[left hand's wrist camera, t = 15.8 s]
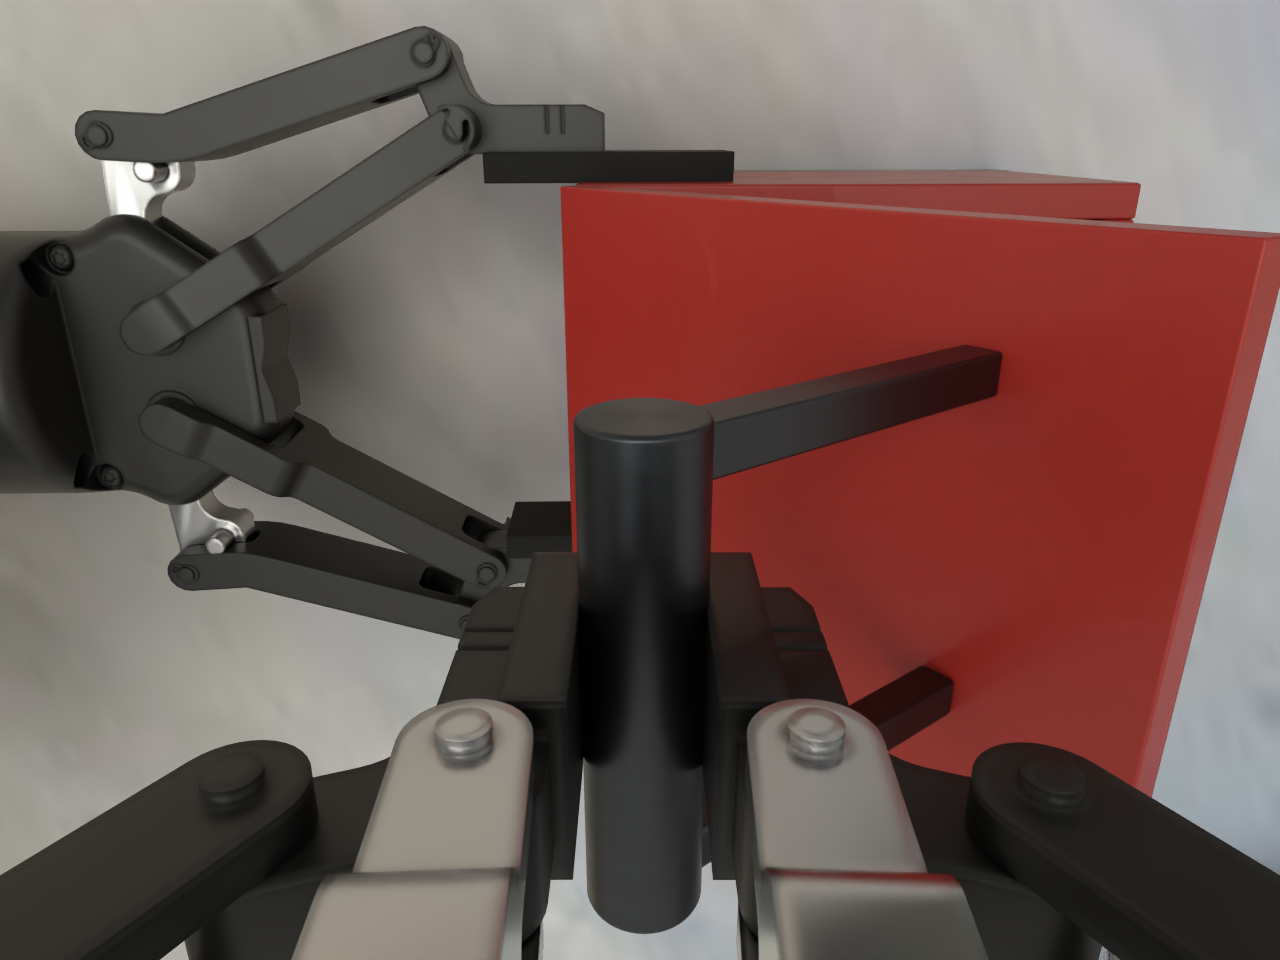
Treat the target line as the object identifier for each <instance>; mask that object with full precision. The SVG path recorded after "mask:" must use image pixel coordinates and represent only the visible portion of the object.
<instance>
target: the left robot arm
mask: <svg viewBox="0 0 1280 960" xmlns="http://www.w3.org/2000/svg"><path fill="white" fill-rule="evenodd" d="M583 758H584V753H583V718H582V683H581V647H580V612H579V597H578V564H577V552H534V553H533V556H532V560H531V564H530V568H529V571H528V575H527V579H526V583H525V587H494V588H493V589H492V590H490V591H489V592H488V593H487V594H486V595H484V596H483V597H482V598H481V599H480V600H479V601H477V602H476V603H475V604H474V605H473V606H472V608H471V611H470V614H469V616H468V619H467V622H466V625H465V628H464V632H463V633H462V636H461V639H460V642H459V644H458V650H456V653H455V656H454V658H453V661H452V664H451V667H450V670H449V672H448V675H447V678H446V681H445V684H444V687H443V689H442V692H441V695H440V698H439V701H438V703H437V706H435V707H432V708H430V709H428V710H426V711H424V712H422V713H420V714H419V715H417V716H416V717H414V718H413V719H412V720H410V721H409V722H408V723H407V724H406V725H405V726H404V727H403V729H402V730H401V731H400V733H399V735H398V737H397V739H396V741H395V744H394V747H393V750H392V753H391V756H390V757H389V758H387V759H384V760H382V761H379V762H376V763H374V764H371V765H367V766H363V767H359V768H355V769H350V770H346V771H341V772H337V773H332V774H327V775H323V776H318V777H313V776H312V770H311V764H310V761H309V759H308V757H307V756H306V755H305V754H304V753H303V752H302V751H301V750H300V749H298V748H296V747H295V746H292V745H290V744H287V743H283V742H278V741H270V740H255V741H246V742H239V743H234V744H230V745H226V746H223V747H220V748H217V749H214V750H211V751H209V752H207V753H204V754H202V755H200V756H198V757H196V758H194V759H192V760H191V761H189V762H187V763H185V764H184V765H182V766H180V767H179V768H177V769H175V770H174V771H172V772H170V773H169V774H167V775H166V776H164V777H162V778H161V779H159V780H157V781H156V782H154V783H152V784H151V785H149V786H147V787H146V788H144V789H142V790H141V791H139V792H137V793H136V794H134V795H132V796H131V797H129V798H128V799H126V800H124V801H123V802H121V803H119V804H118V805H116V806H114V807H113V808H111V809H109V810H108V811H106V812H104V813H103V814H101V815H99V816H98V817H96V818H94V819H93V820H91V821H89V822H88V823H86V824H85V825H83V826H81V827H80V828H78V829H76V830H75V831H73V832H71V833H70V834H68V835H66V836H65V837H63V838H61V839H60V840H58V841H56V842H55V843H53V844H51V845H50V846H48V847H47V848H45V849H43V850H42V851H40V852H38V853H37V854H35V855H33V856H32V857H30V858H28V859H27V860H25V861H23V862H22V863H20V864H18V865H17V866H15V867H13V868H12V869H10V870H9V871H7V872H5V873H4V874H2V875H0V960H160V959H161V958H163V957H164V956H165V955H166V954H168V953H169V952H170V951H172V950H173V949H174V948H175V947H177V946H178V945H179V944H181V943H182V942H183V941H185V945H186V949H187V953H188V957H189V960H542V958H543V942H544V939H543V917H544V915H545V913H546V909H547V904H548V897H549V888H550V880H573V870H574V859H575V848H576V837H577V825H578V814H579V803H580V792H581V781H582V769H583ZM702 770H703V780H704V790H705V801H706V811H707V821H708V832H709V842H710V852H711V863H712V873H713V880H736V886H737V894H738V920H737V957H738V960H1098V959H1099V955H1100V951H1101V947H1102V946H1103V947H1105V948H1106V949H1107V950H1108V951H1110V960H1280V875H1278V874H1276V873H1275V872H1273V871H1272V870H1270V869H1268V868H1267V867H1265V866H1263V865H1262V864H1260V863H1258V862H1257V861H1255V860H1253V859H1252V858H1250V857H1248V856H1247V855H1245V854H1243V853H1242V852H1240V851H1238V850H1237V849H1235V848H1233V847H1232V846H1230V845H1229V844H1227V843H1225V842H1224V841H1222V840H1220V839H1219V838H1217V837H1215V836H1214V835H1212V834H1210V833H1209V832H1207V831H1205V830H1204V829H1202V828H1200V827H1199V826H1197V825H1195V824H1194V823H1192V822H1191V821H1189V820H1187V819H1186V818H1184V817H1182V816H1181V815H1179V814H1177V813H1176V812H1174V811H1172V810H1171V809H1169V808H1167V807H1166V806H1164V805H1162V804H1161V803H1159V802H1157V801H1156V800H1154V799H1153V798H1151V797H1149V796H1148V795H1146V794H1144V793H1143V792H1141V791H1139V790H1138V789H1136V788H1134V787H1133V786H1131V785H1129V784H1128V783H1126V782H1124V781H1123V780H1121V779H1119V778H1118V777H1116V776H1115V775H1113V774H1111V773H1110V772H1108V771H1106V770H1105V769H1103V768H1101V767H1100V766H1098V765H1096V764H1095V763H1093V762H1091V761H1089V760H1087V759H1085V758H1084V757H1081V756H1079V755H1077V754H1074V753H1072V752H1069V751H1066V750H1063V749H1060V748H1057V747H1053V746H1049V745H1044V744H1037V743H1028V742H1014V743H1005V744H1000V745H996V746H994V747H991V748H989V749H987V750H985V751H984V752H982V753H981V754H980V755H979V756H978V757H977V758H976V760H975V762H974V764H973V767H972V774H971V777H968V776H963V775H958V774H954V773H949V772H945V771H940V770H935V769H931V768H927V767H923V766H919V765H915V764H913V763H910V762H907V761H904V760H902V759H900V758H897V757H895V756H893V755H891V754H889V753H888V750H887V747H886V744H885V741H884V739H883V736H882V734H881V733H880V731H879V730H878V729H877V727H876V726H875V725H874V724H873V723H872V722H871V721H870V720H869V719H867V718H866V717H864V716H863V715H861V714H860V713H858V712H856V711H854V710H852V709H850V706H849V704H848V701H847V698H846V695H845V693H844V690H843V687H842V684H841V682H840V679H839V676H838V674H837V671H836V668H835V665H834V663H833V660H832V657H831V654H830V652H829V651H828V650H827V644H826V641H825V638H824V635H823V633H822V632H821V627H820V624H819V622H818V619H817V616H816V614H815V611H814V608H813V606H812V605H811V604H810V603H809V602H807V601H806V600H805V599H804V598H803V597H801V596H800V595H799V594H798V593H797V592H795V591H794V590H793V589H792V588H791V587H760V583H759V579H758V576H757V572H756V568H755V564H754V561H753V557H752V554H751V552H711V562H710V596H709V603H708V605H707V613H706V647H705V681H704V714H703V748H702Z"/></svg>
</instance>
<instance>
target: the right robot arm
mask: <svg viewBox="0 0 1280 960" xmlns="http://www.w3.org/2000/svg"><path fill="white" fill-rule="evenodd" d="M416 94H420V96H421V99H422V101H423V103H424V106H425V108H426V111H427V113H428V115H429V117H428V118H426V119H425V120H423V121H422V122H420V123H419V124H417V125H416V126H414V127H413V128H411V129H410V130H408V131H407V132H405V133H404V134H402V135H401V136H399V137H398V138H396V139H395V140H393V141H392V142H390V143H389V144H387V145H386V146H384V147H383V148H381V149H380V150H378V151H377V152H375V153H374V154H372V155H371V156H369V157H368V158H367V159H365V160H364V161H362V162H361V163H359V164H358V165H356V166H355V167H353V168H352V169H350V170H349V171H347V172H346V173H344V174H343V175H341V176H340V177H338V178H337V179H335V180H334V181H332V182H331V183H329V184H328V185H326V186H325V187H323V188H322V189H320V190H319V191H317V192H316V193H314V194H313V195H311V196H310V197H308V198H307V199H305V200H304V201H302V202H301V203H299V204H298V205H296V206H295V207H293V208H292V209H290V210H289V211H287V212H286V213H284V214H283V215H281V216H280V217H278V218H277V219H275V220H274V221H272V222H271V223H269V224H268V225H266V226H265V227H263V228H262V229H261V230H259V231H258V232H256V233H254V234H253V235H251V236H249V237H247V238H245V239H243V240H241V241H240V242H238V243H236V244H234V245H233V246H231V247H229V248H228V249H226V250H225V251H223V252H222V253H220V252H219V251H217V250H216V249H214V248H213V247H211V246H209V245H208V244H206V243H205V242H203V241H202V240H200V239H199V238H197V237H196V236H194V235H193V234H191V233H189V232H188V231H186V230H185V229H183V228H182V227H180V226H179V225H177V224H176V223H174V222H173V221H171V220H169V219H168V218H166V217H164V216H162V204H163V201H164V200H165V199H166V197H167V196H168V195H170V194H171V193H174V192H178V191H182V190H185V189H187V188H188V187H190V185H191V184H192V183H193V181H194V178H195V164H194V161H207V160H215V159H222V158H227V157H230V156H234V155H238V154H241V153H244V152H247V151H250V150H253V149H256V148H259V147H262V146H265V145H268V144H271V143H274V142H277V141H280V140H283V139H286V138H289V137H291V136H294V135H297V134H300V133H303V132H306V131H309V130H312V129H315V128H318V127H321V126H324V125H327V124H330V123H333V122H336V121H339V120H342V119H345V118H348V117H351V116H354V115H357V114H360V113H363V112H366V111H369V110H371V109H374V108H377V107H380V106H383V105H386V104H389V103H392V102H395V101H398V100H401V99H404V98H407V97H410V96H413V95H416ZM75 136H76V138H77V141H78V144H79V145H80V147H81V148H82V149H83V150H84V152H85V153H87V154H88V155H90V156H91V157H93V158H95V159H99V160H101V164H102V171H103V177H104V184H105V191H106V197H107V204H108V210H109V217H107V218H105V219H103V220H101V221H100V222H99V223H97V224H96V225H94V226H93V227H91V228H89V229H87V230H84V231H0V493H85V492H101V491H113V490H127V491H132V492H137V493H140V494H143V495H145V496H148V497H150V498H152V499H154V500H157V501H159V502H161V503H165V504H168V505H169V509H170V512H171V516H172V520H173V524H174V527H175V531H176V535H177V538H178V542H179V546H180V551H181V552H180V553H179V554H178V555H177V556H176V557H175V558H174V559H173V560H172V561H171V562H170V564H169V566H168V575H169V577H170V579H171V581H172V582H173V583H174V584H175V585H176V586H177V587H179V588H182V589H184V590H190V591H196V590H212V589H228V588H244V587H247V588H251V589H255V590H260V591H264V592H268V593H272V594H276V595H280V596H284V597H288V598H293V599H297V600H301V601H305V602H309V603H313V604H317V605H321V606H325V607H330V608H334V609H338V610H342V611H346V612H350V613H354V614H358V615H363V616H367V617H371V618H375V619H379V620H383V621H387V622H391V623H396V624H400V625H404V626H408V627H412V628H416V629H420V630H424V631H429V632H433V633H437V634H441V635H445V636H449V637H453V638H457V639H461V636H462V633H463V632H464V628H465V625H466V622H467V619H468V616H469V614H470V611H471V608H472V606H473V605H474V604H475V603H476V602H477V601H479V600H480V599H481V598H482V597H483V596H484V595H486V594H487V593H488V592H489V591H490V590H492V589H493V588H494V587H508V586H510V585H513V584H515V583H526V579H527V575H528V571H529V568H530V564H531V560H532V556H533V553H534V552H572V524H571V501H557V502H516V503H515V506H514V510H513V513H512V517H511V519H510V518H509V517H507V519H506V522H505V523H504V524H501V523H499V522H497V521H495V520H493V519H491V518H489V517H487V516H485V515H483V514H481V513H479V512H478V511H476V510H474V509H472V508H470V507H468V506H466V505H464V504H462V503H460V502H458V501H456V500H454V499H452V498H450V497H448V496H446V495H444V494H442V493H440V492H438V491H436V490H434V489H432V488H430V487H428V486H427V485H425V484H423V483H421V482H419V481H417V480H415V479H413V478H411V477H409V476H407V475H405V474H403V473H401V472H399V471H397V470H395V469H393V468H391V467H389V466H387V465H385V464H383V463H381V462H379V461H377V460H376V459H374V458H372V457H370V456H368V455H366V454H364V453H362V452H360V451H358V450H356V449H354V448H352V447H350V446H348V445H346V444H344V443H342V442H340V441H338V440H336V439H335V438H333V437H332V436H331V434H330V432H329V430H328V429H327V428H325V427H324V426H323V425H321V424H319V423H317V422H315V421H313V420H311V419H309V418H307V417H305V416H304V415H302V414H300V413H298V412H296V411H294V410H295V408H296V407H298V406H299V405H300V404H301V402H300V395H299V388H298V381H297V378H296V376H295V373H294V371H293V369H292V366H291V364H290V362H289V359H288V357H287V349H288V341H289V333H290V326H289V319H288V312H287V305H286V304H279V302H278V300H277V298H276V296H275V294H274V293H273V292H272V290H271V289H272V288H273V287H275V286H277V285H278V284H280V283H281V282H283V281H284V280H286V279H287V278H289V277H290V276H292V275H293V274H295V273H296V272H298V271H299V270H301V269H302V268H304V267H305V266H307V265H308V264H309V263H310V262H311V261H313V260H314V259H316V258H317V257H319V256H320V255H322V254H323V253H325V252H327V251H328V250H330V249H331V248H333V247H334V246H336V245H337V244H339V243H340V242H342V241H343V240H345V239H346V238H348V237H349V236H351V235H352V234H354V233H356V232H357V231H359V230H360V229H362V228H363V227H365V226H366V225H368V224H369V223H371V222H372V221H374V220H375V219H377V218H378V217H380V216H382V215H383V214H385V213H386V212H388V211H389V210H391V209H392V208H394V207H395V206H397V205H398V204H400V203H401V202H403V201H404V200H406V199H407V198H409V197H411V196H412V195H414V194H415V193H417V192H418V191H420V190H421V189H423V188H424V187H426V186H427V185H429V184H430V183H432V182H433V181H435V180H437V179H438V178H440V177H441V176H443V175H444V174H446V173H447V172H449V171H450V170H452V169H453V168H455V167H456V166H458V165H459V164H461V163H462V162H464V161H466V160H467V159H469V158H470V157H472V156H473V155H475V154H483V167H484V183H579V182H733V175H734V152H732V151H725V150H636V151H605V114H604V113H603V112H601V111H598V110H596V109H594V108H591V107H589V106H587V105H493V104H489V103H487V102H486V101H485V100H483V99H482V98H481V97H480V96H479V95H478V94H477V92H476V91H475V89H474V87H473V85H472V82H471V80H470V77H469V75H468V72H467V70H466V67H465V65H464V61H463V55H462V52H461V50H460V48H459V46H458V45H457V44H456V43H455V42H454V41H453V40H451V39H450V38H448V37H446V36H445V35H443V34H441V33H440V32H438V31H436V30H434V29H432V28H429V27H426V26H420V27H414V28H411V29H408V30H405V31H402V32H399V33H396V34H393V35H391V36H388V37H385V38H382V39H379V40H376V41H373V42H370V43H367V44H364V45H362V46H359V47H356V48H353V49H350V50H347V51H344V52H341V53H338V54H335V55H332V56H330V57H327V58H324V59H321V60H318V61H315V62H312V63H309V64H306V65H303V66H301V67H298V68H295V69H292V70H289V71H286V72H283V73H280V74H277V75H274V76H272V77H269V78H266V79H263V80H260V81H257V82H254V83H251V84H248V85H245V86H242V87H240V88H237V89H234V90H231V91H228V92H225V93H222V94H219V95H216V96H213V97H211V98H208V99H205V100H202V101H199V102H196V103H193V104H190V105H187V106H184V107H181V108H179V109H176V110H173V111H170V112H167V113H164V114H160V113H143V112H122V111H102V110H93V111H87V112H85V113H84V114H82V115H81V116H80V117H79V118H78V120H77V122H76V124H75ZM230 476H232V477H234V478H236V479H238V480H240V481H242V482H244V483H246V484H249V485H251V486H253V487H255V488H257V489H259V490H261V491H263V492H265V493H267V494H270V495H272V496H276V497H293V498H296V499H298V500H300V501H302V502H304V503H306V504H308V505H310V506H312V507H315V508H317V509H319V510H321V511H323V512H325V513H327V514H329V515H331V516H333V517H335V518H337V519H339V520H341V521H343V522H345V523H347V524H349V525H351V526H353V527H355V528H357V529H359V530H361V531H363V532H365V533H367V534H370V535H372V536H374V537H376V538H378V539H380V540H382V541H384V542H386V543H388V544H390V545H392V546H394V547H396V548H398V549H400V550H402V551H404V552H406V553H408V554H406V553H402V552H398V551H394V550H390V549H387V548H383V547H379V546H375V545H371V544H367V543H363V542H359V541H355V540H351V539H347V538H343V537H339V536H335V535H331V534H327V533H323V532H319V531H315V530H311V529H307V528H303V527H299V526H295V525H291V524H286V523H280V522H270V521H254V515H253V513H252V512H251V511H250V510H248V509H246V508H241V509H237V508H232V507H228V506H226V505H223V504H222V503H221V502H219V501H218V500H217V498H216V497H215V495H214V493H213V489H214V488H215V487H217V486H218V485H219V484H221V483H222V482H223V481H224V480H226V479H227V478H228V477H230Z"/></svg>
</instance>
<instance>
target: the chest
mask: <svg viewBox="0 0 1280 960" xmlns="http://www.w3.org/2000/svg"><path fill="white" fill-rule="evenodd" d="M585 185H589V186H603V187H618V188H632V189H647V190H661V191H675V192H690V193H704V194H719V195H733V196H748V197H762V198H777V199H791V200H806V201H820V202H835V203H849V204H864V205H878V206H893V207H907V208H921V209H936V210H950V211H965V212H979V213H994V214H1008V215H1023V216H1037V217H1052V218H1066V219H1081V220H1095V221H1110V222H1124V223H1133V220H1131V219H1132V218H1134V217H1135V214H1136V208H1137V203H1138V198H1139V192H1140V187H1141V185H1140V184H1139V183H1133V182H1122V181H1111V180H1100V179H1089V178H1078V177H1067V176H1056V175H1045V174H1034V173H1023V172H1012V171H1006V170H734V175H733V182H579V183H578V184H577V185H576V186H585Z"/></svg>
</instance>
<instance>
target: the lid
mask: <svg viewBox="0 0 1280 960" xmlns="http://www.w3.org/2000/svg"><path fill="white" fill-rule="evenodd" d="M561 212H562V243H563V274H564V305H565V337H566V368H567V399H568V430H569V461H570V492H571V524H572V552H577V564H578V597H579V612H580V647H581V683H582V718H583V753H584V758H583V764H584V797H585V831H586V864H587V892H588V897H589V900H590V903H591V904H592V906H593V908H594V910H595V911H596V912H597V914H598V915H599V916H600V917H601V918H602V919H603V920H604V921H606V922H607V923H608V924H610V925H612V926H614V927H615V928H618V929H620V930H623V931H627V932H631V933H638V934H650V933H657V932H662V931H665V930H668V929H671V928H673V927H675V926H677V925H678V924H680V923H681V922H683V921H684V920H685V919H686V918H687V917H688V916H689V915H690V914H691V913H692V911H693V910H694V909H695V907H696V905H697V903H698V901H699V898H700V893H701V872H702V867H703V866H705V865H707V864H708V863H710V862H711V852H710V842H709V832H708V821H707V811H706V801H705V790H704V780H703V770H702V748H703V714H704V681H705V647H706V613H707V605H708V603H709V596H710V562H711V552H751V554H752V557H753V561H754V564H755V568H756V572H757V576H758V579H759V583H760V587H791V588H792V589H793V590H794V591H795V592H797V593H798V594H799V595H800V596H801V597H803V598H804V599H805V600H806V601H807V602H809V603H810V604H811V605H812V606H813V608H814V611H815V614H816V616H817V619H818V622H819V624H820V627H821V632H822V633H823V635H824V638H825V641H826V644H827V650H828V651H829V652H830V654H831V657H832V660H833V663H834V665H835V668H836V671H837V674H838V676H839V679H840V682H841V684H842V687H843V690H844V693H845V695H846V698H847V701H848V704H849V706H850V709H852V710H854V711H856V712H858V713H860V714H861V715H863V716H864V717H866V718H867V719H869V720H870V721H871V722H872V723H873V724H874V725H875V726H876V727H877V729H878V730H879V731H880V733H881V734H882V736H883V739H884V741H885V744H886V747H887V750H888V753H889V754H891V755H893V756H895V757H897V758H900V759H902V760H904V761H907V762H910V763H913V764H915V765H919V766H923V767H927V768H931V769H935V770H940V771H945V772H949V773H954V774H958V775H963V776H968V777H971V774H972V767H973V764H974V762H975V760H976V758H977V757H978V756H979V755H980V754H981V753H982V752H984V751H985V750H987V749H989V748H991V747H994V746H996V745H1000V744H1005V743H1014V742H1028V743H1037V744H1044V745H1049V746H1053V747H1057V748H1060V749H1063V750H1066V751H1069V752H1072V753H1074V754H1077V755H1079V756H1081V757H1084V758H1085V759H1087V760H1089V761H1091V762H1093V763H1095V764H1096V765H1098V766H1100V767H1101V768H1103V769H1105V770H1106V771H1108V772H1110V773H1111V774H1113V775H1115V776H1116V777H1118V778H1119V779H1121V780H1123V781H1124V782H1126V783H1128V784H1129V785H1131V786H1133V787H1134V788H1136V789H1138V790H1139V791H1141V792H1143V793H1144V794H1146V795H1148V796H1149V797H1151V798H1152V794H1153V790H1154V786H1155V782H1156V778H1157V774H1158V770H1159V766H1160V762H1161V758H1162V754H1163V750H1164V746H1165V742H1166V738H1167V734H1168V730H1169V726H1170V722H1171V718H1172V714H1173V710H1174V706H1175V702H1176V698H1177V694H1178V690H1179V686H1180V682H1181V678H1182V674H1183V670H1184V666H1185V662H1186V658H1187V654H1188V650H1189V646H1190V642H1191V638H1192V634H1193V630H1194V626H1195V622H1196V618H1197V614H1198V610H1199V606H1200V602H1201V598H1202V594H1203V590H1204V586H1205V582H1206V579H1207V575H1208V571H1209V567H1210V563H1211V559H1212V555H1213V551H1214V547H1215V543H1216V539H1217V535H1218V531H1219V527H1220V523H1221V519H1222V515H1223V511H1224V507H1225V503H1226V499H1227V495H1228V491H1229V487H1230V483H1231V479H1232V475H1233V471H1234V467H1235V463H1236V459H1237V455H1238V451H1239V447H1240V443H1241V439H1242V435H1243V431H1244V427H1245V423H1246V419H1247V415H1248V411H1249V407H1250V403H1251V399H1252V395H1253V391H1254V387H1255V383H1256V379H1257V375H1258V371H1259V367H1260V363H1261V359H1262V355H1263V351H1264V347H1265V343H1266V339H1267V335H1268V331H1269V327H1270V323H1271V319H1272V315H1273V311H1274V307H1275V303H1276V299H1277V295H1278V291H1279V288H1280V233H1269V232H1254V231H1240V230H1225V229H1211V228H1196V227H1182V226H1167V225H1153V224H1139V223H1124V222H1110V221H1095V220H1081V219H1066V218H1052V217H1037V216H1023V215H1008V214H994V213H979V212H965V211H950V210H936V209H921V208H907V207H893V206H878V205H864V204H849V203H835V202H820V201H806V200H791V199H777V198H762V197H748V196H733V195H719V194H704V193H690V192H675V191H661V190H647V189H632V188H618V187H603V186H589V185H585V186H563V187H561Z"/></svg>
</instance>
